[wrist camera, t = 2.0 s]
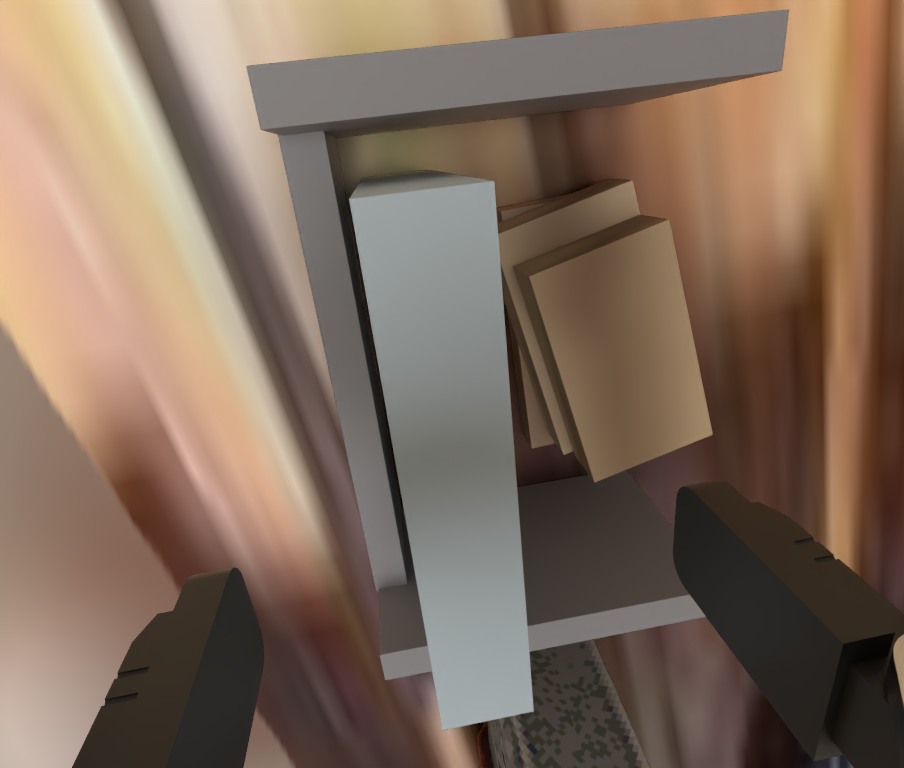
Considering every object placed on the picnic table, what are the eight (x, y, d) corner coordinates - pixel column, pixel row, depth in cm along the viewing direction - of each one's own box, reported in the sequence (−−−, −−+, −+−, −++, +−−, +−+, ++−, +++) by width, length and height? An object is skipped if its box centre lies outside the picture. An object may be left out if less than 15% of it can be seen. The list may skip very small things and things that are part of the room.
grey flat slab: (427, 170, 20) (494, 181, 9) (463, 469, 25) (533, 711, 14) (362, 177, 20) (348, 199, 9) (411, 478, 25) (442, 730, 14)
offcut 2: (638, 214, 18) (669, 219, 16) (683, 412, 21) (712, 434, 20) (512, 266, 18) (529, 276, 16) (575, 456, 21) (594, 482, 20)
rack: (632, 66, 19) (789, 9, 12) (624, 489, 27) (720, 613, 19) (293, 103, 18) (241, 66, 11) (379, 532, 26) (382, 680, 18)
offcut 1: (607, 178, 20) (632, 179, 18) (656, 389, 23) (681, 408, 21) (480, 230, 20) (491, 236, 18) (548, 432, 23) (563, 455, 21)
